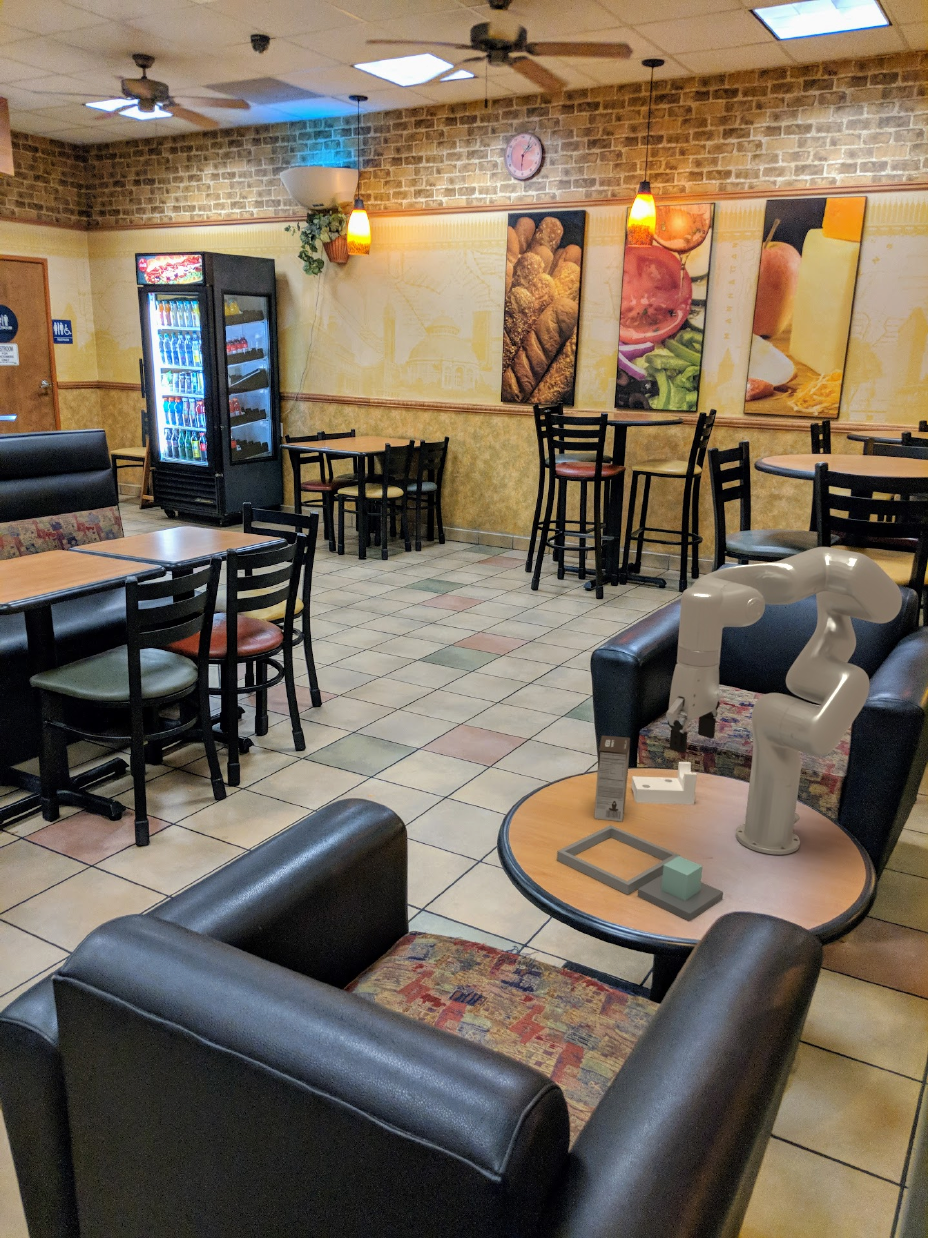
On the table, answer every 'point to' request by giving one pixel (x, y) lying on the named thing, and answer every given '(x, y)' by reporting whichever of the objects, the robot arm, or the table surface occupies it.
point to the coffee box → (612, 778)
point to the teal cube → (681, 878)
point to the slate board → (679, 906)
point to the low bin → (605, 877)
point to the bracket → (666, 787)
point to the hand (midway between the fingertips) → (692, 743)
